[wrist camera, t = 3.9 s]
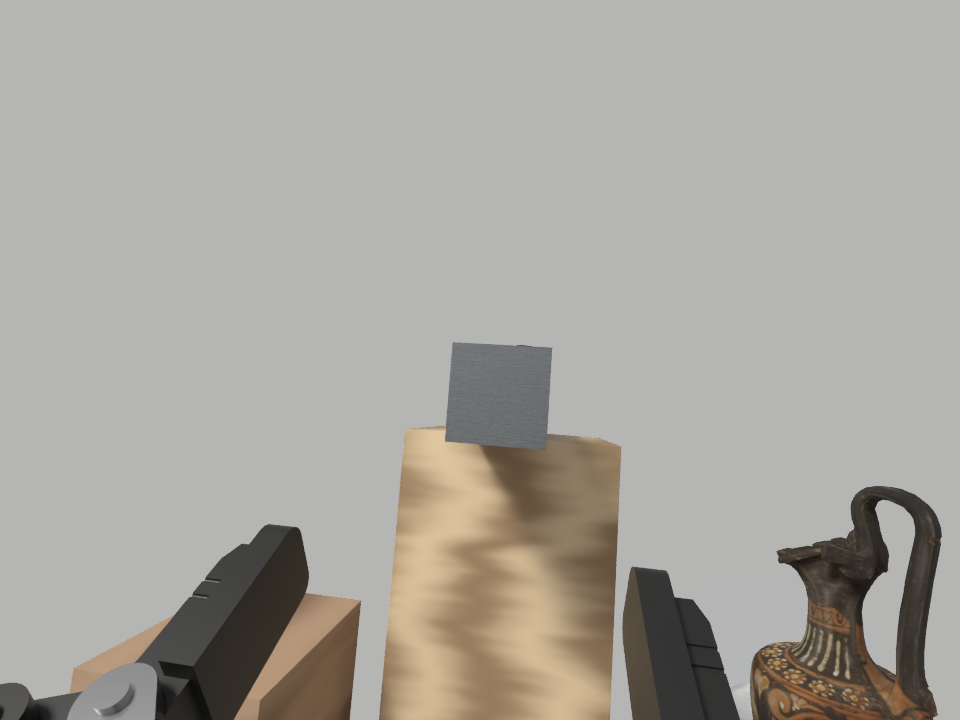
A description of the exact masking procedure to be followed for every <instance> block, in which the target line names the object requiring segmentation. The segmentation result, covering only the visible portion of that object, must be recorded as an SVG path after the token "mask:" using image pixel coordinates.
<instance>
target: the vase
mask: <svg viewBox="0 0 960 720" xmlns="http://www.w3.org/2000/svg"><path fill="white" fill-rule="evenodd" d="M881 500H889V501H891V502H894V503H896V504H898V505H900V506H902V507H904V508H905V509H906V510H907V511H908V512H909V513H910V514H911V516H912V518H913V519H914V524H915V538H914V543H913V548H912V552H911V556H910V561H909V566H908V570H907V575H906V580H905V586H904V593H903V598H902V603H901V608H900V615H899V624H898V633H897V634H898V635H897V646H896V675H895V674H893V673H891V672H890V671H888V670H886V669H884V668H883V667H881V666H879V665H876V664H875V663H874V662H873V660H872V659H871V657H870V655H869V653H868V651H867V649H866V645H865V640H864V633H863V621H862V607H863V601H864V598H865V596H866V594H867V592H868V590H869V589H870V587H871V585H872V584H873V583H874V581H875V580H876V579H877V577H878V576H880V575H881V574H882V573H883V572H887V571H888V559H889V553H888V549H887V546H886V544H885V543H884V541H883V539H882V535H881V532H880V527H879V521H878V518H877V514H876V511H875V507H876V505H877V503H878V501H881ZM851 516H852V521H853V524H854V530H852V531H851V532H849V534H848V537H847V539H845V538H834V539H831V541H822V542H816V543H814V544H813V546H812V547H811V546H804V547H799V548H794V549H791V548H786V549H782V550H779V551H777V553H778V555H779V558H778V561H779V563H786V564H788V565H791V566H792V567H793V568H794V569H795V570H797V572H798V573H799V575H800V577H801V578H802V580H803V582H804V584H805V587H806V591H807V596H808V617H807V626H806V631H805V635H804V637H803V640H802V642H780V643H774V644H770V645H767V646H765V647H764V648H761V649H760V650H759V651H758V652H757V653H756V654H755V656H754V658H753V661H752V666H751V677H750V695H751V706H752V714H753V720H933V717H935V716H937V715H938V714H937V709H936V705H935V702H934V699H933V695H932V693H931V692H930V690H929V689H928V684H927V681H926V679H925V670H924V649H925V636H926V628H927V621H928V614H929V608H930V602H931V595H932V588H933V582H934V577H935V572H936V567H937V562H938V557H939V551H940V546H941V542H940V539H941V537H942V534H941V527H940V524H939V521H938V519H937V516H936V514H935V513H934V511H933V510H932V509H931V507H930V506H929V505H928V504H926V503H925V502H924V501H923V500H921V499H920V498H919V497H917V496H916V495H914V494H912V493H909V492H907V491H904V490H902V489H898V488H893V487H884V486H873V487H866V488H864V489H863V490H861V491H859V492H858V493H857V494H856V495H855V497H854V498H853V500H852V503H851Z"/></svg>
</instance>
